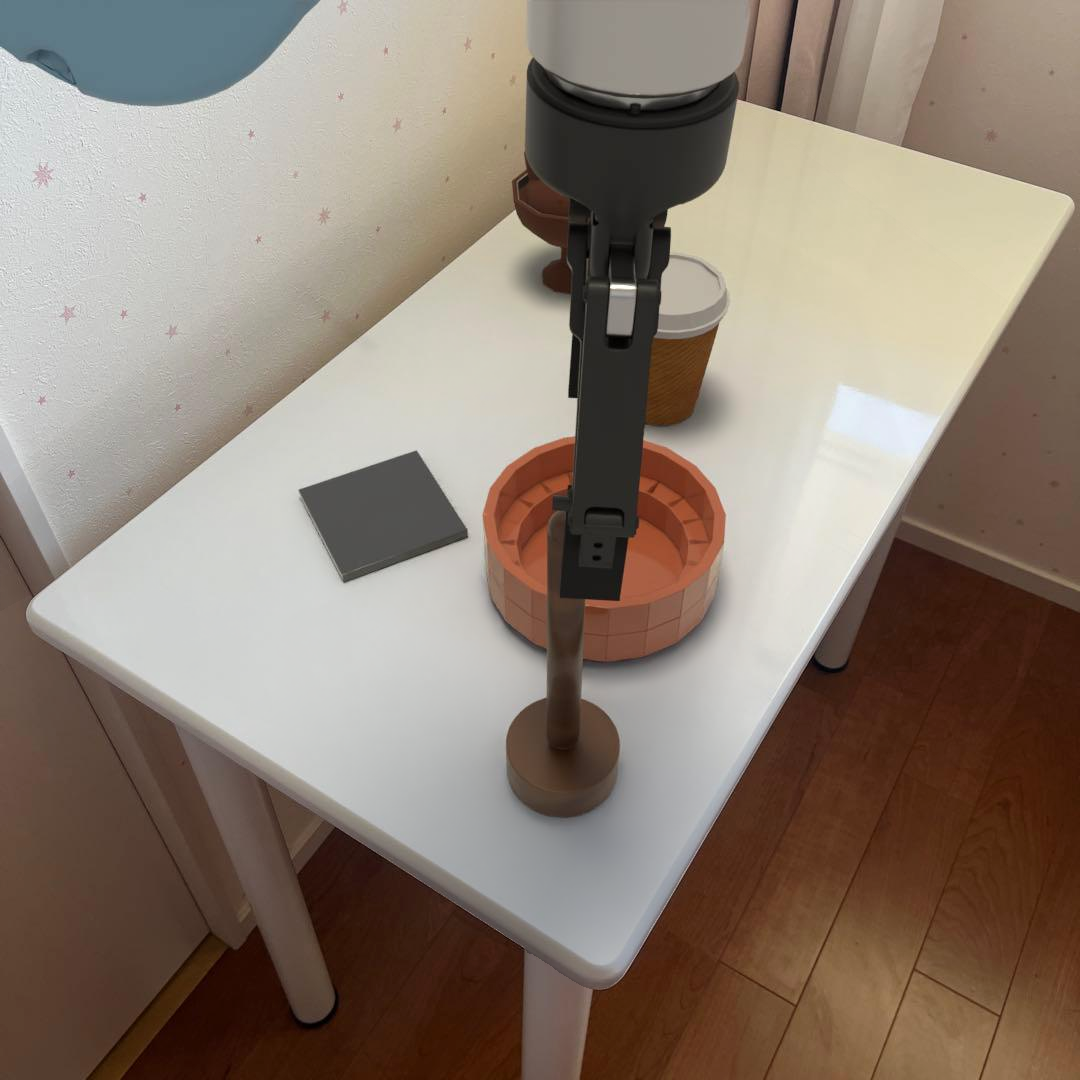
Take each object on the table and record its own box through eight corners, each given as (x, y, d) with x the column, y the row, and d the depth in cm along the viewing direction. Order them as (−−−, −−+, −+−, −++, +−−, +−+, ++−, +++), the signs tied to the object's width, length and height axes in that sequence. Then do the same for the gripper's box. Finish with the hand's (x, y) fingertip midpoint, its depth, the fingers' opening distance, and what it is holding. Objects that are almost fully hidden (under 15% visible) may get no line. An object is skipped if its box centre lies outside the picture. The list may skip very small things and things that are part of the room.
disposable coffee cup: (720, 439, 91) (739, 318, 82) (604, 439, 91) (611, 318, 82) (708, 367, 97) (724, 248, 89) (600, 367, 98) (606, 248, 89)
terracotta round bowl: (552, 703, 73) (552, 643, 68) (451, 540, 83) (445, 477, 79) (759, 614, 78) (773, 553, 74) (640, 471, 88) (646, 408, 84)
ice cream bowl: (565, 324, 102) (567, 174, 91) (491, 272, 108) (484, 125, 97) (648, 282, 106) (660, 134, 95) (573, 234, 112) (576, 89, 101)
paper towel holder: (538, 836, 67) (535, 589, 50) (488, 747, 71) (471, 492, 54) (638, 789, 69) (668, 537, 52) (584, 706, 73) (596, 448, 56)
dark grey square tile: (343, 582, 80) (342, 575, 80) (299, 496, 87) (297, 489, 86) (468, 536, 84) (467, 529, 83) (417, 457, 90) (416, 449, 89)
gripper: (776, 277, 30) (677, 703, 46) (719, -70, 47) (660, 332, 63) (503, 261, 30) (498, 693, 46) (542, -80, 47) (528, 325, 63)
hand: (591, 486), depth 54 cm, fingers open, 13 cm apart
